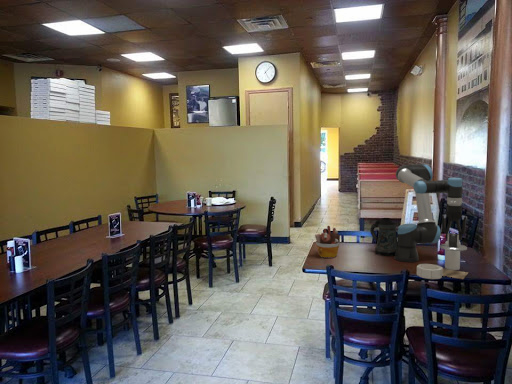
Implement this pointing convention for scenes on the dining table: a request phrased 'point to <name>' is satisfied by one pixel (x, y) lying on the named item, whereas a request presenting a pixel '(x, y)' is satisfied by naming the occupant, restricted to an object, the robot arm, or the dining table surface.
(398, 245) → the robot arm
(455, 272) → the plate
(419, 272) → the bowl
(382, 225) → the beer stein
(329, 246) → the bucket of meat
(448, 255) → the cup
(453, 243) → the lid
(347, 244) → the dining table surface
